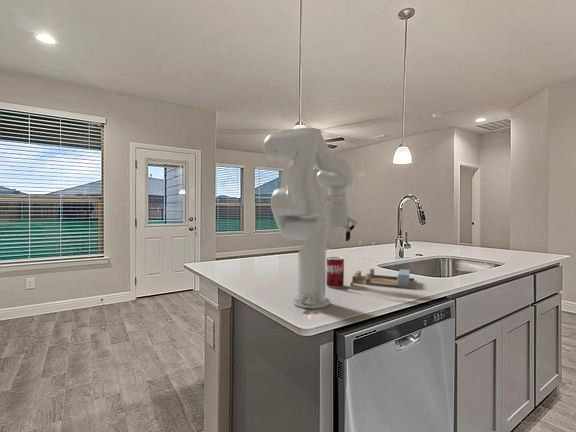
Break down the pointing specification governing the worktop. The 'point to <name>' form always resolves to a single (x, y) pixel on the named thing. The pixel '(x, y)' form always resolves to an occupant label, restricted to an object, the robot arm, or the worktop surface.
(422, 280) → the worktop surface
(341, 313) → the worktop surface
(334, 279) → the soda can
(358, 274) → the board
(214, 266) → the worktop surface
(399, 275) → the jaw
